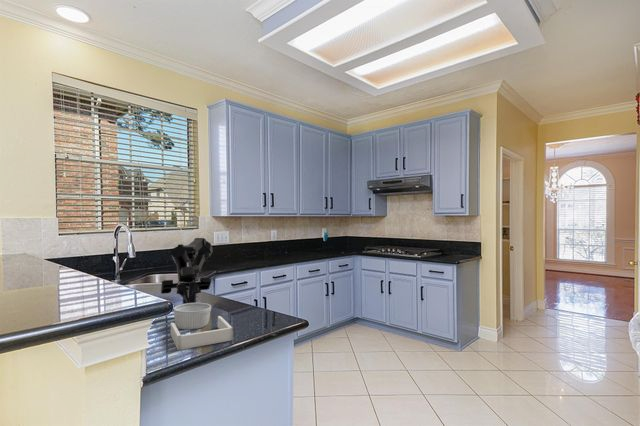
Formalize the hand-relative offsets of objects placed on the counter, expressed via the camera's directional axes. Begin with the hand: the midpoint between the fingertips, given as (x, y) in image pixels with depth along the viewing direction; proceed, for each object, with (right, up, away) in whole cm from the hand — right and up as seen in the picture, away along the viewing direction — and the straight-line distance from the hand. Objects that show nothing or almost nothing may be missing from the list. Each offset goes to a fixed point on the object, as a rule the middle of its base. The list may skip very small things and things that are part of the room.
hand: (188, 302), depth 130 cm
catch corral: (+12, -7, -19) cm, 23 cm away
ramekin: (+4, -7, -6) cm, 10 cm away
